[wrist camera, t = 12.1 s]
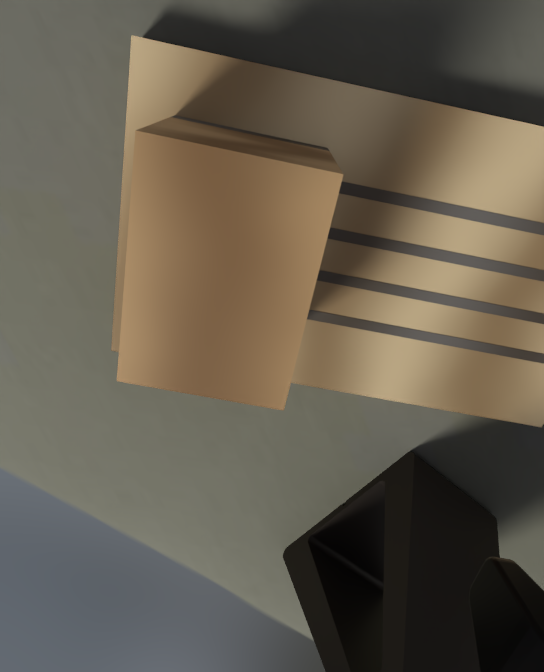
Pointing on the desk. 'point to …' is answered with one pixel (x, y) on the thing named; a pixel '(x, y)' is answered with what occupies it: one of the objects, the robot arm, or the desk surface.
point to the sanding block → (222, 258)
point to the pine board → (388, 230)
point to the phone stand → (395, 574)
